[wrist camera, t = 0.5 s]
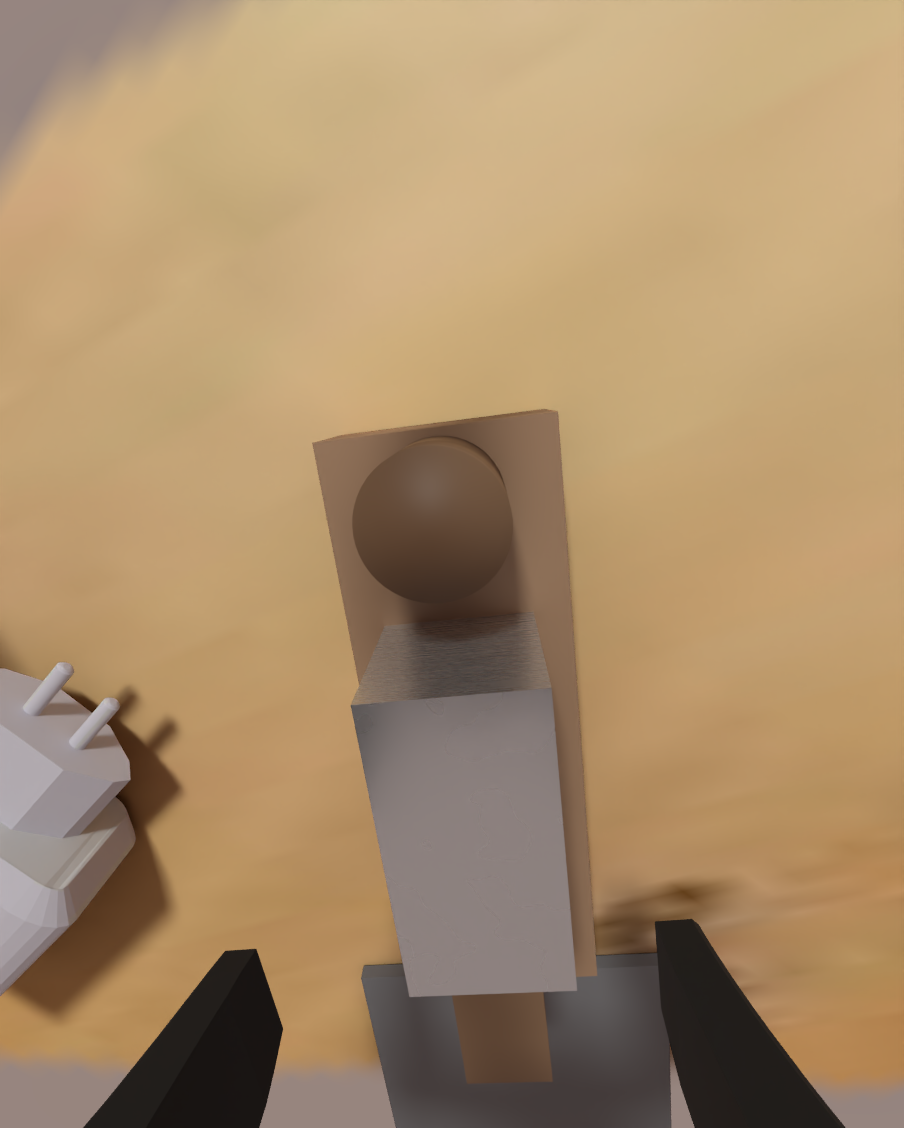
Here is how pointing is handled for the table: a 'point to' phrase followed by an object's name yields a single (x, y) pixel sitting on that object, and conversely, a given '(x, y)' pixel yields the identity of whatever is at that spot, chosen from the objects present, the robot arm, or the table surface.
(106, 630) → the table surface
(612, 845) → the table surface
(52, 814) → the charger
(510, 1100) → the mat
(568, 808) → the plane body
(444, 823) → the lever cap
